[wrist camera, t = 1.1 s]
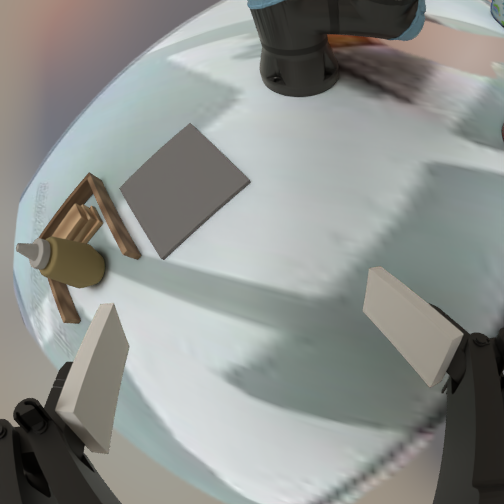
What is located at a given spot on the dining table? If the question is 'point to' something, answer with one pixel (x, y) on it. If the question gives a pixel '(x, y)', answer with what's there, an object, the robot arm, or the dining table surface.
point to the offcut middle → (88, 225)
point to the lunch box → (498, 10)
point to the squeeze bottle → (65, 261)
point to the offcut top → (71, 223)
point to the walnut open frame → (114, 222)
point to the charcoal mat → (181, 188)
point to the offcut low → (95, 227)
